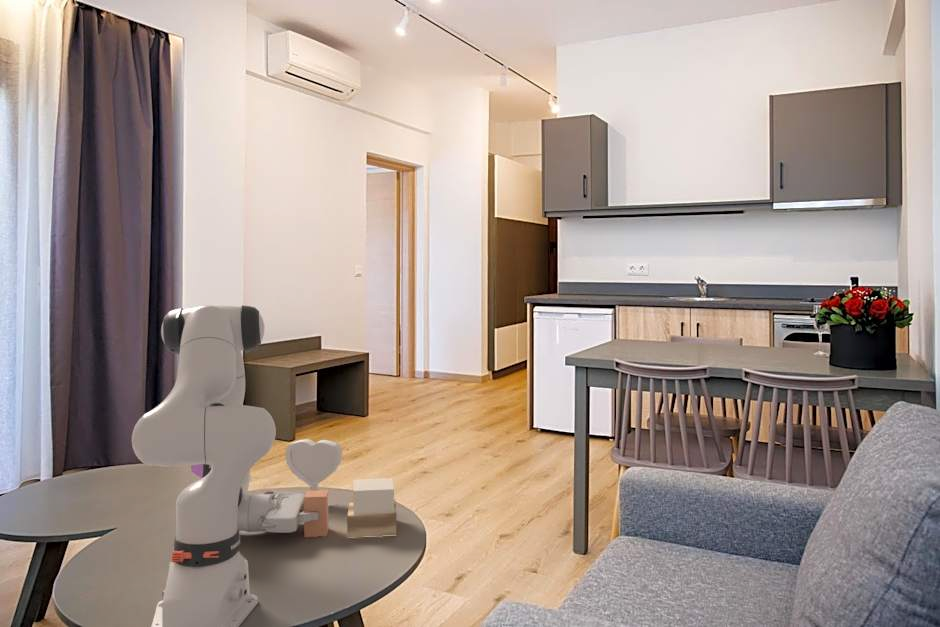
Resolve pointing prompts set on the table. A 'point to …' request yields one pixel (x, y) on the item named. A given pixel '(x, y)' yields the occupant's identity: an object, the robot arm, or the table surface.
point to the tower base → (370, 523)
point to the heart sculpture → (313, 460)
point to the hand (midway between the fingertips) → (320, 510)
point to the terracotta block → (320, 504)
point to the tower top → (373, 496)
